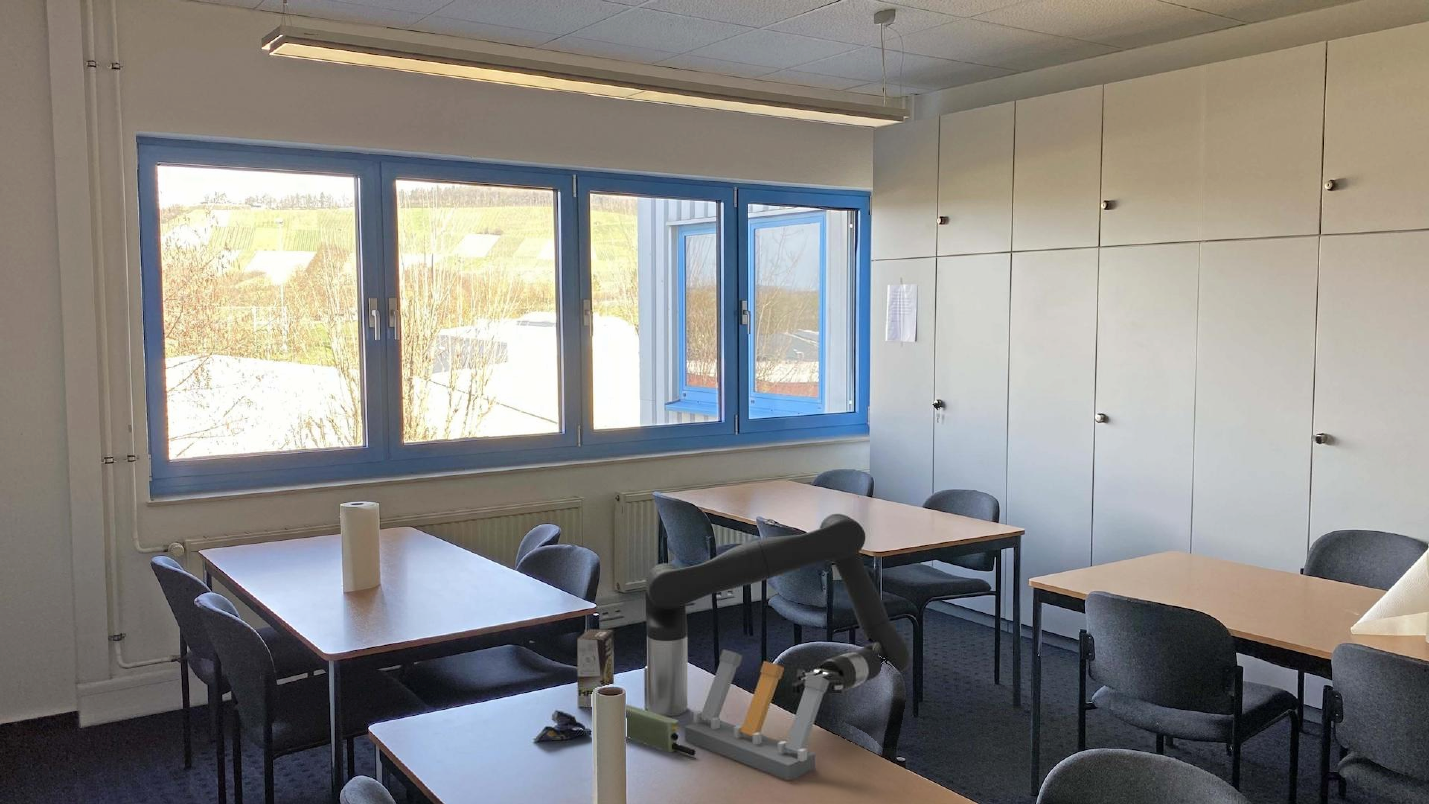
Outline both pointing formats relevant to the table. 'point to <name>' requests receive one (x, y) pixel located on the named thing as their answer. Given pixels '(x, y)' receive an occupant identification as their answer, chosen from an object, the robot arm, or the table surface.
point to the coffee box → (594, 663)
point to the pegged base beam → (749, 748)
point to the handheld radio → (654, 730)
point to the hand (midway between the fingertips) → (793, 689)
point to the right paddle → (806, 712)
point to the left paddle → (721, 684)
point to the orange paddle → (762, 698)
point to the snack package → (562, 728)
